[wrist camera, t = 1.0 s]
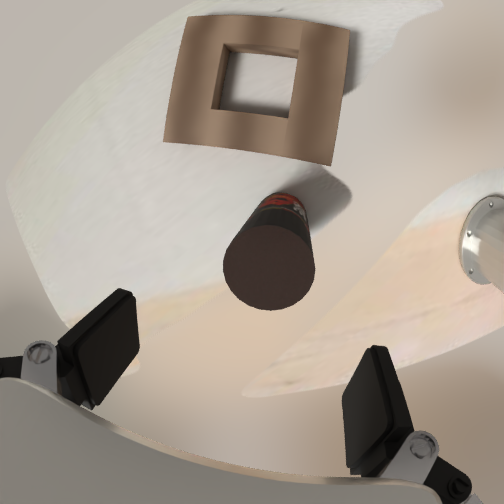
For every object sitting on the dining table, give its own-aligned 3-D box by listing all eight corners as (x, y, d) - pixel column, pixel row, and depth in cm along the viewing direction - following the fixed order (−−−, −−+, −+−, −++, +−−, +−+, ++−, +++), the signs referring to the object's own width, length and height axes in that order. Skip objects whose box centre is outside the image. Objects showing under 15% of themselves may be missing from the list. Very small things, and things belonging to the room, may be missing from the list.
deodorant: (247, 229, 33) (209, 286, 19) (269, 183, 30) (245, 208, 16) (292, 251, 33) (287, 323, 19) (316, 207, 30) (332, 252, 17)
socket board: (345, 40, 23) (350, 30, 20) (327, 165, 29) (330, 166, 26) (196, 26, 25) (187, 16, 22) (174, 142, 30) (163, 142, 28)
